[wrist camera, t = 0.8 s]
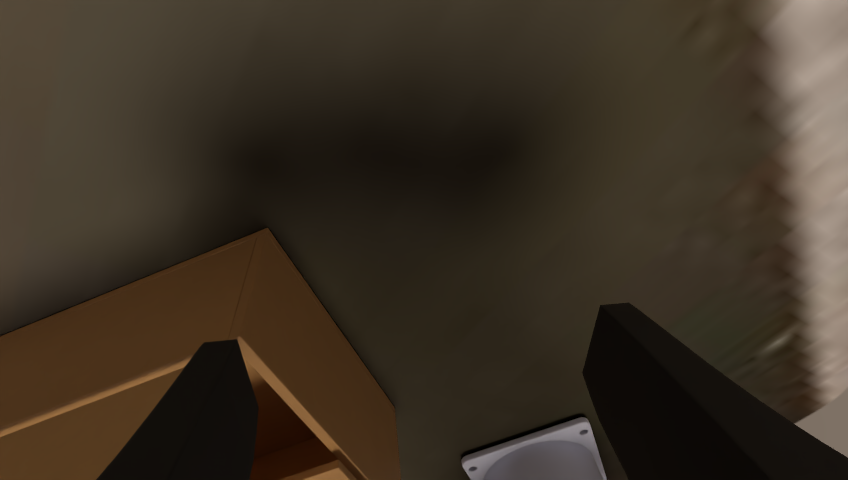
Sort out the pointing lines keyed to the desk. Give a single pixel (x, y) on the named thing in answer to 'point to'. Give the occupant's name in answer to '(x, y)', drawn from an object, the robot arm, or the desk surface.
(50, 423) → the flap
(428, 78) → the desk surface
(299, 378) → the carton
